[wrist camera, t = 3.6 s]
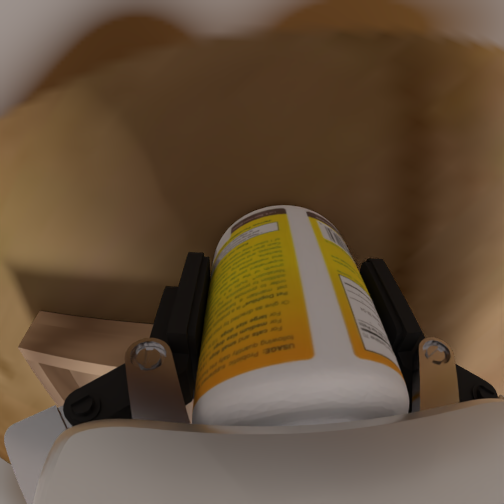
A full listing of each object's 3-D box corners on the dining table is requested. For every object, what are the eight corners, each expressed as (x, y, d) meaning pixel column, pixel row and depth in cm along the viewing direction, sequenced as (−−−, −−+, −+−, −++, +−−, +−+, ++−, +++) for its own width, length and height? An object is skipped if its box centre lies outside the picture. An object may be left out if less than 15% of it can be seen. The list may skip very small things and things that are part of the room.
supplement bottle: (205, 297, 15) (176, 527, 6) (228, 185, 12) (188, 491, 3) (318, 316, 15) (357, 525, 7) (364, 217, 12) (487, 459, 4)
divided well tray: (373, 328, 16) (388, 372, 13) (333, 414, 21) (339, 448, 18) (39, 310, 15) (17, 347, 13) (87, 398, 20) (76, 429, 18)
